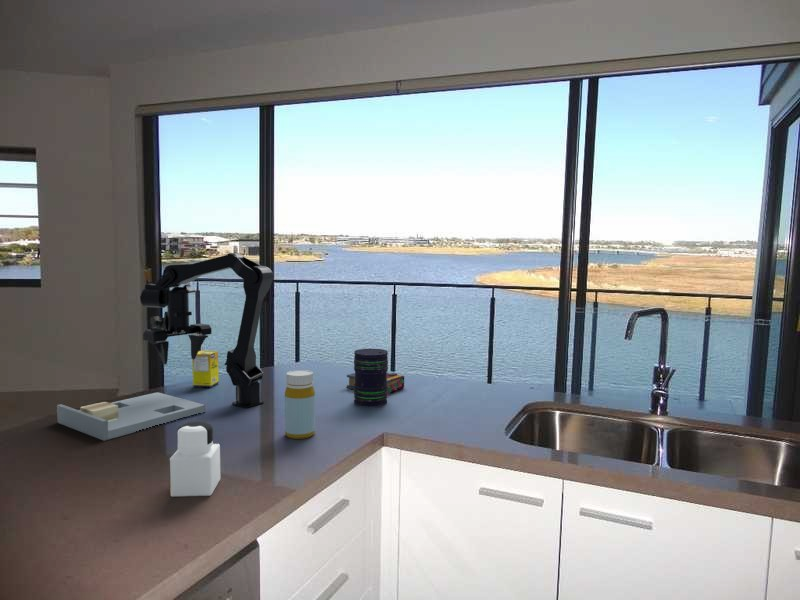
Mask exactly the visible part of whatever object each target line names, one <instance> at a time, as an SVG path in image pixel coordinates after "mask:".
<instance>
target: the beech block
mask: <svg viewBox="0 0 800 600" xmlns="http://www.w3.org/2000/svg"><path fill="white" fill-rule="evenodd" d="M111 403H112V402H107V401H101V402H98V403H93V404H92V403H91V404H88V405H84V406H80V409H79V410H80V411H82V412H85V413H88V414H91V415H94V416H97V417H99V418H102V419H105V420H110V419H114V418H118V405H115V404H111Z"/></svg>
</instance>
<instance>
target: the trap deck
mask: <svg viewBox="0 0 800 600" xmlns="http://www.w3.org/2000/svg"><path fill="white" fill-rule="evenodd" d="M110 403H111V404H115V405H118V418H114V419H110V420H105V419H102V418H99V417H97V416H94V415H91V414H88V413H85V412H82V411H80V409H75V408H73V407H70V406H67V405H65V404H61V403H60V404H57V405H56V416H57V418H56V419H57V423H58V424H60V425H63V426H65V427H67V428H70V429H72V430H73V429H74V430H76V431H78V432H81V433H83V434H86V435H87V436H90V437H94V438H96V439H98V440H101V441H104V442H105V441H108V440H111V439H116V438H118V437H122V436H123V437H124V436H126V435H130V434H133V433H136V431H137V432H139V430H141V431H143V430H142V429H144V430H147V429H146V428H148V429H150V428H149V427H151V428H153V427H152V426H155V425H158V426H160V425H159V424H162V425H164V424H163V423H165V424H167V423H166V422H169V423H171V422H170V421H173V420H176V419H179V418H183V417H186V416H189V415H194V414H197V415H199V414H198V413H201V414H204V413H203V412H205V413H206V404H203V403H199V402H196V401H192V400H188V399H186V398H185V399H184V398H180V397H177V396H174V395H170V394H165V393H162V392H157V391H156V392H153V393H148V394H144V395H139V396H135V397H131V398H127V399H122V400H117V401H113V402H110ZM173 411H174V412H173ZM194 416H195V415H194ZM183 419H184V418H183ZM176 421H177V420H176ZM173 422H174V421H173ZM155 427H156V426H155Z"/></svg>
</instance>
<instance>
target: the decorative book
mask: <svg viewBox="0 0 800 600" xmlns="http://www.w3.org/2000/svg"><path fill="white" fill-rule="evenodd" d="M346 378H348V384H347V385H346V388H348V389H352V390H354V384H355V372H353V373H349V374H346ZM387 384H388V389H387V390H388V394H387V396H389V395H390V394H391V393H392V392H395V391H399V390H401V389H404V388H405V375H400V374H398V373H396V372H387Z"/></svg>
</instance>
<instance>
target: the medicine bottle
mask: <svg viewBox="0 0 800 600" xmlns="http://www.w3.org/2000/svg"><path fill="white" fill-rule="evenodd" d="M213 427H214V426H213V425H212V424H211V423H210V422H209V423H208V422H206V421H198V420H197V421H190V422H186V423H184V424H182V425H180V426H179V427H178V428H177V430H176V432H177V434H176V437H177V440H176V441H177V450H176V451H175V452H174V453H173V454H172V455H171V457H170V458H169V487H170V489H169V490H170V491H169V492H170V496H171V497H172V498H173V497H174V498H175V497H208V496H209V497H210V496H211V495H213V493H214V491H215V489H216V487H217V486H218V484H219V483H220V480H221V446H220V444H219V443H214V435H213V434H214V433H213Z"/></svg>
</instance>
